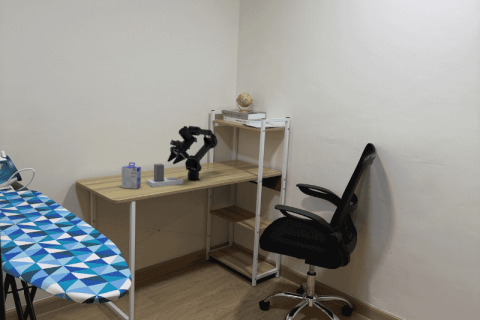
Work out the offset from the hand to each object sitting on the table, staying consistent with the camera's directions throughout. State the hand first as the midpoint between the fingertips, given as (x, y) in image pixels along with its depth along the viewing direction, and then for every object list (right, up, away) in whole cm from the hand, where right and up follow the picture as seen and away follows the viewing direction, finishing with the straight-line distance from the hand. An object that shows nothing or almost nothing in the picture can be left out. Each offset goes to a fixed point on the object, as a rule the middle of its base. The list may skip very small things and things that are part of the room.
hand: (170, 162), depth 252 cm
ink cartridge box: (-21, -14, -12) cm, 28 cm away
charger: (-7, -13, -2) cm, 15 cm away
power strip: (-3, -13, 0) cm, 13 cm away
